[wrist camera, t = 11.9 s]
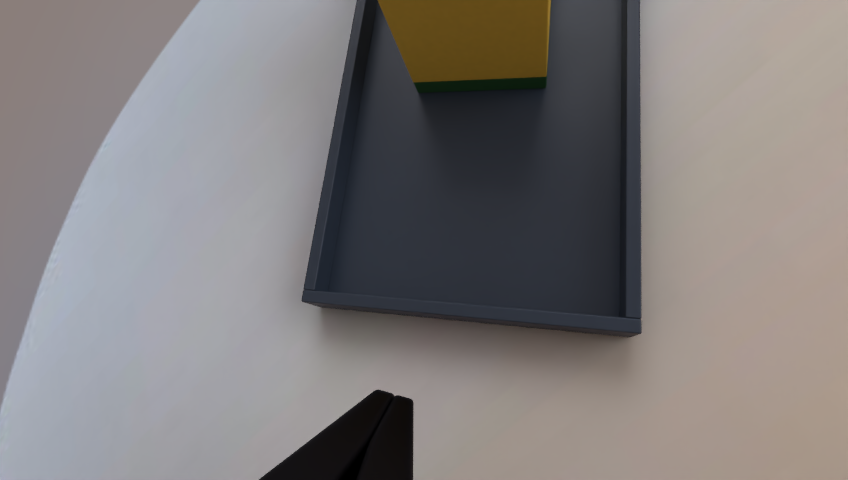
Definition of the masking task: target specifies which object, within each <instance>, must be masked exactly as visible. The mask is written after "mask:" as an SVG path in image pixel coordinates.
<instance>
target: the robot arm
mask: <svg viewBox="0 0 848 480" xmlns="http://www.w3.org/2000/svg"><path fill="white" fill-rule="evenodd" d="M259 480H413V400H412V399H409V398H406V397H402V396H399V395H397V396H395V397H394V395H393V394H392V393H388V392H385V391H381V390H375V391H374V392H372V393H371V394H370V395H368V396H367V397H366V398H365V399H363V400H362V401H361V402H359V403H358V404H357V405H355V406H354V407H353V408H352V409H350V410H349V411H348V412H346V413H345V414H344V415H342V416H341V417H340V418H338V419H337V420H336V421H335V422H333V423H332V424H331V425H329V426H328V427H327V428H325V429H324V430H323V431H322V432H320V433H319V434H318V435H316V436H315V437H314V438H312V439H311V440H310V441H309V442H307V443H306V444H305V445H303V446H302V447H301V448H299V449H298V450H297V451H296V452H294V453H293V454H292V455H290V456H289V457H288V458H286V459H285V460H284V461H283V462H281V463H280V464H279V465H277V466H276V467H275V468H273V469H272V470H271V471H270V472H268V473H267V474H266V475H264V476H263V477H262V478H260V479H259Z"/></svg>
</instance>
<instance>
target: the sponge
mask: <svg viewBox="0 0 848 480" xmlns="http://www.w3.org/2000/svg"><path fill="white" fill-rule="evenodd" d="M378 3H379V5H380V7H381V9H382V12H383V14H384V16H385V19H386V21H387V23H388V26H389V28H390V30H391V32H392V35H393V37H394V39H395V42H396V44H397V46H398V49H399V51H400V53H401V55H402V58H403V60H404V62H405V65H406V67H407V69H408V72H409V74H410V76H411V79H412V81H413V82H414V85H415V87H416V90H417V92H418V93H429V92H456V91H483V90H510V89H537V88H546V85H547V67H548V49H549V31H550V13H551V0H378Z"/></svg>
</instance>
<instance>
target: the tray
mask: <svg viewBox="0 0 848 480" xmlns="http://www.w3.org/2000/svg"><path fill="white" fill-rule="evenodd" d="M302 302H305V303H308V304H312V305H315V306H319V307H325V308H335V309H345V310H356V311H366V312H376V313H387V314H397V315H407V316H417V317H428V318H438V319H448V320H459V321H469V322H479V323H489V324H500V325H510V326H520V327H531V328H541V329H551V330H561V331H572V332H582V333H592V334H603V335H613V336H623V337H632V336H635V335H638V334H641V148H640V0H551V13H550V31H549V49H548V67H547V85H546V88H537V89H510V90H483V91H456V92H429V93H418V92H417V90H416V87H415V85H414V82H413V81H412V79H411V76H410V74H409V72H408V69H407V67H406V65H405V62H404V60H403V58H402V55H401V53H400V51H399V49H398V46H397V44H396V42H395V39H394V37H393V35H392V32H391V30H390V28H389V26H388V23H387V21H386V19H385V16H384V14H383V12H382V9H381V7H380V5H379V3H378V0H357V3H356V8H355V14H354V19H353V24H352V30H351V35H350V41H349V46H348V51H347V57H346V62H345V68H344V73H343V79H342V84H341V89H340V95H339V100H338V106H337V111H336V116H335V122H334V127H333V133H332V138H331V143H330V149H329V154H328V160H327V165H326V171H325V176H324V181H323V187H322V192H321V198H320V203H319V208H318V214H317V219H316V225H315V230H314V236H313V241H312V246H311V252H310V257H309V263H308V268H307V273H306V279H305V284H304V291H303V296H302Z"/></svg>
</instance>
